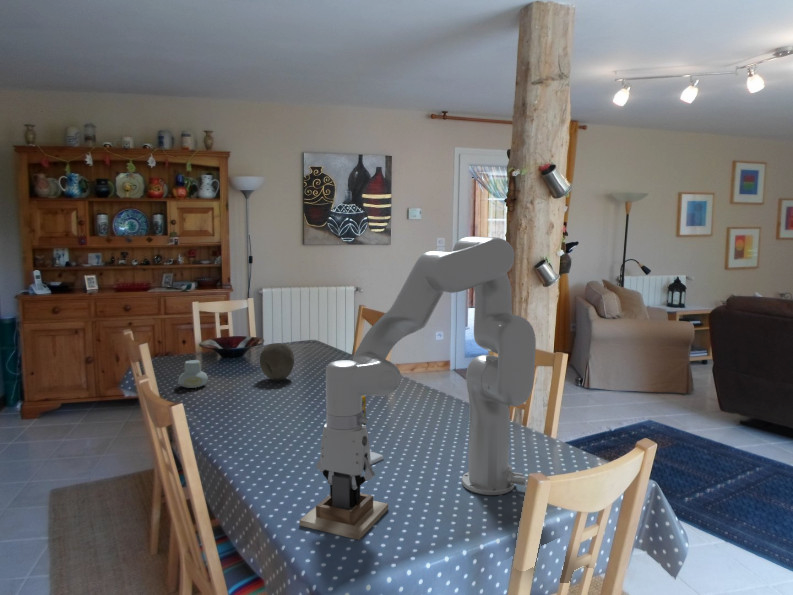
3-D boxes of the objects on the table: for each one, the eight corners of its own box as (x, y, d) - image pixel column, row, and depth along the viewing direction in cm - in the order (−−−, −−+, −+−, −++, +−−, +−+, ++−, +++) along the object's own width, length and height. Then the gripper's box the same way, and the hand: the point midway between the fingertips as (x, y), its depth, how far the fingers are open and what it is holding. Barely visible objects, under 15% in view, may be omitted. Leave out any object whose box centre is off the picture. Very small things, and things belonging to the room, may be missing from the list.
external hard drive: (328, 466, 152) (362, 453, 161) (349, 475, 147) (383, 460, 156) (328, 460, 152) (361, 447, 161) (349, 469, 147) (383, 454, 156)
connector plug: (357, 502, 125) (357, 471, 125) (348, 511, 122) (348, 479, 121) (341, 499, 127) (341, 468, 126) (332, 507, 123) (331, 476, 123)
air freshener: (208, 382, 233) (207, 358, 231) (208, 388, 225) (207, 363, 224) (178, 385, 229) (177, 360, 228) (178, 390, 221) (177, 365, 220)
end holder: (388, 508, 128) (388, 492, 128) (359, 539, 116) (359, 522, 115) (333, 497, 134) (332, 481, 133) (299, 525, 121) (299, 508, 121)
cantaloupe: (300, 380, 236) (300, 344, 234) (267, 386, 228) (266, 348, 226) (286, 373, 247) (285, 338, 246) (254, 378, 239) (253, 342, 238)
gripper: (387, 419, 122) (387, 502, 124) (319, 409, 129) (320, 488, 131) (372, 430, 115) (372, 518, 118) (300, 419, 122) (302, 502, 124)
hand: (345, 501), depth 124 cm, fingers closed on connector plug, 3 cm apart
